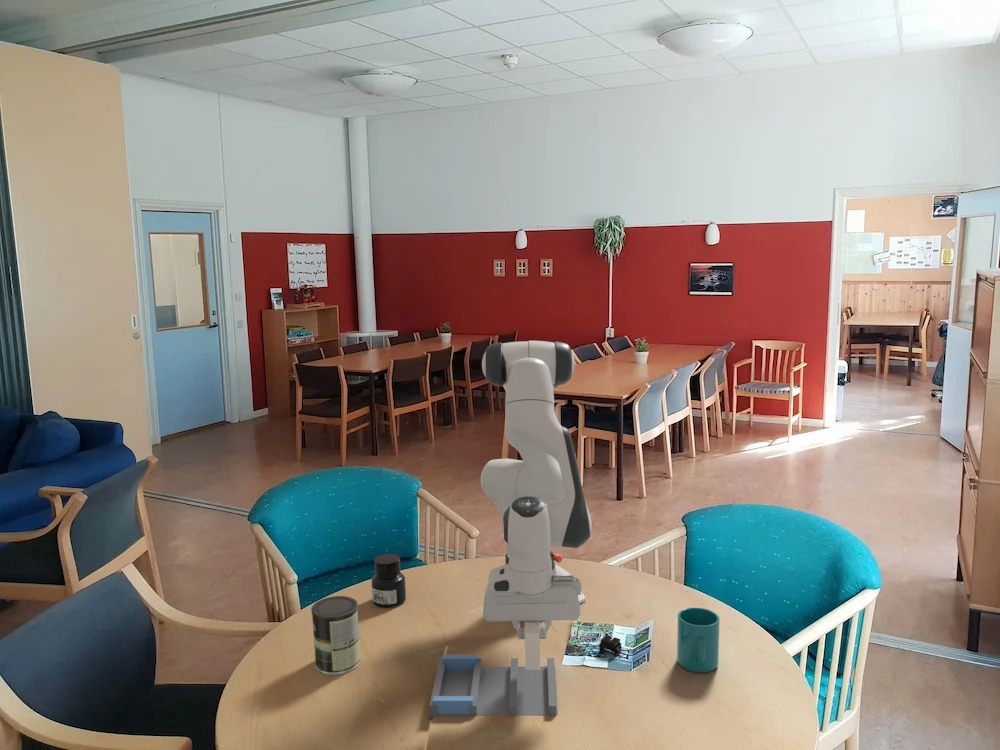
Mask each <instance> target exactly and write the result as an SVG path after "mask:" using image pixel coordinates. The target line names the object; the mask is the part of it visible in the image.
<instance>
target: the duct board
mask: <svg viewBox="0 0 1000 750" xmlns="http://www.w3.org/2000/svg"><path fill="white" fill-rule="evenodd" d="M556 674H557V673H556V666H555V658H553V657H549V658H548V657H547V658H546V666H540V670H526V666H519V659H518V657H515V658H512V657H511V658H510V666H483V658H481V657H480V658H479V654H442V657H441V658H440V657H439V660H438V664H437V669H436V672H435V678H434V683H433V688H432V691H431V697H430V701H429V705H428V707H429V711H428V720H433V719H434V716H559V713H558V712H559V711H558V710H559V709H558V696H557V695H558V694H557V693H558V691H557V676H556Z"/></svg>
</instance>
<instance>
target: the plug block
mask: <svg viewBox="0 0 1000 750" xmlns="http://www.w3.org/2000/svg"><path fill="white" fill-rule="evenodd" d="M524 628H525V639H524V656H525V657H524V658H525V660H524V661H525V664H524V665H525V667H526V670H540V667H541V645H540V643H541V641H540V640H541V639H540V634H539V628H540V621H524Z"/></svg>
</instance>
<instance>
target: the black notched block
mask: <svg viewBox="0 0 1000 750" xmlns="http://www.w3.org/2000/svg"><path fill="white" fill-rule="evenodd" d="M598 648H599V650H598V651H599V653H602V651H603V650H608V651H611V652H613V653H614V657H615V658H616V657H618V655H620V653H621V652H622V648H623V646H622V643H621V639H620V638H618V637H616V636H615V637H613V636H611V635H608V634H606V635H604V636H603V637H602V638H601V639H600V642H599V645H598Z"/></svg>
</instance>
